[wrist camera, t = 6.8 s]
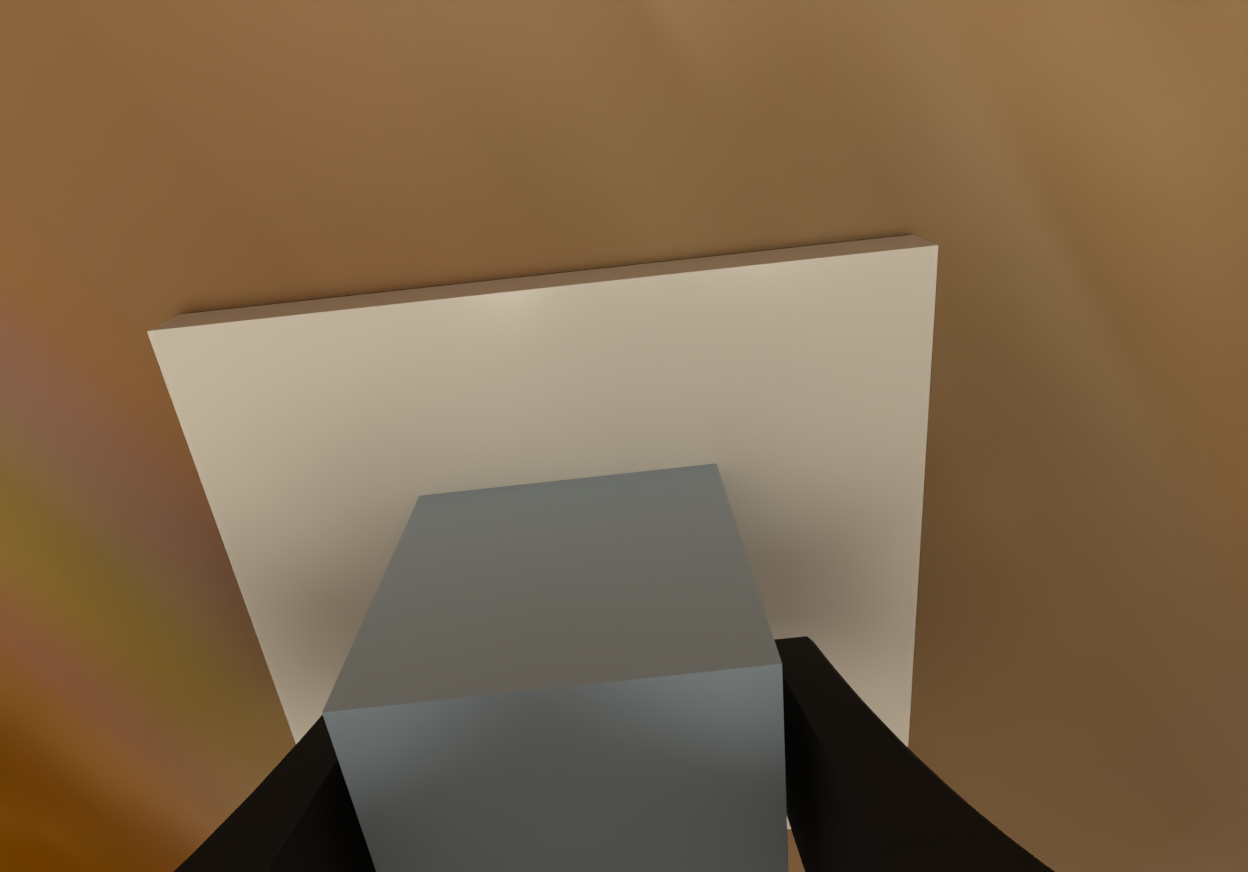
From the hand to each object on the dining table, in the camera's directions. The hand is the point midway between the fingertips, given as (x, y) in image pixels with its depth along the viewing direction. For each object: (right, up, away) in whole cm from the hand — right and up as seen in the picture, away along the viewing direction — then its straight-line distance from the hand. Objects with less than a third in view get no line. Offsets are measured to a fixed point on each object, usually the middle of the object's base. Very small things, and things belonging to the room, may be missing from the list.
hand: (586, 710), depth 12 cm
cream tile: (0, +1, +3) cm, 3 cm away
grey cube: (0, +1, +2) cm, 2 cm away
